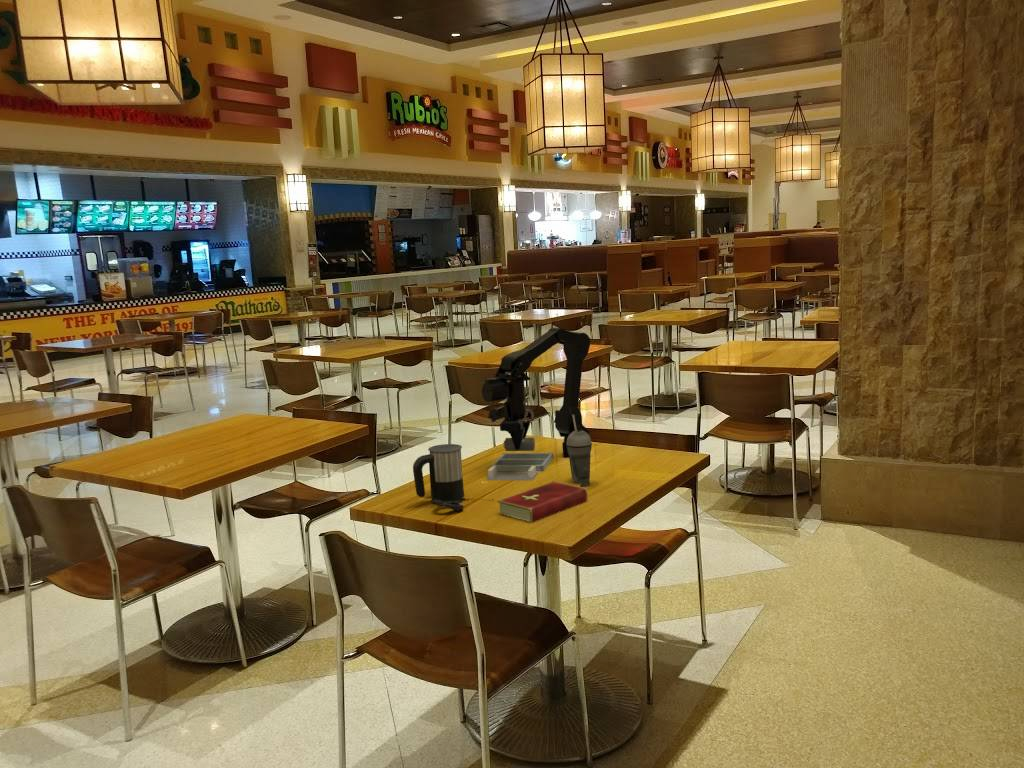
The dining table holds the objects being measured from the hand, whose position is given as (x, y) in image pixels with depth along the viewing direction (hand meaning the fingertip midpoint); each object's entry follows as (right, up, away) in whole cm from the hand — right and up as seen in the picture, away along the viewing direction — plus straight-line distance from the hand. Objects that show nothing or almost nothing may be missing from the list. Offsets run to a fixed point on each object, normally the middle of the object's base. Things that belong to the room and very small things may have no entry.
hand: (519, 447), depth 251 cm
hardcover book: (+6, -13, -36) cm, 39 cm away
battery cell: (0, -1, 0) cm, 1 cm away
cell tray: (+1, -6, +5) cm, 8 cm away
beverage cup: (+17, -9, -18) cm, 26 cm away
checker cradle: (-2, -9, -8) cm, 12 cm away
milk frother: (-19, -13, -28) cm, 37 cm away
